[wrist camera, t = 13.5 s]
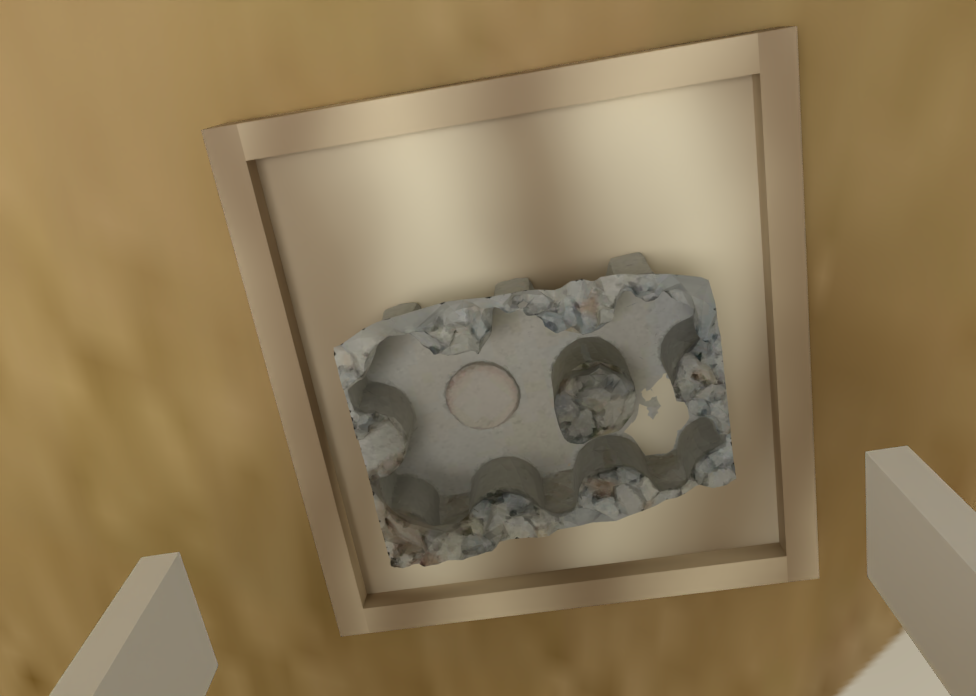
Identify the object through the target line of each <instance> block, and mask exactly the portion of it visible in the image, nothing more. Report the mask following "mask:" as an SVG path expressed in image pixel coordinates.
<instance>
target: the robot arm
mask: <svg viewBox="0 0 976 696" xmlns="http://www.w3.org/2000/svg"><path fill="white" fill-rule="evenodd" d="M865 468H866V534H867V577H868V578H869V580H870V581H871V582H872V584H873V585H874V587H875V588H876V589H877V591H878V592H879V594H880V595H881V597H882V598H883V599H884V601H885V602H886V604H887V605H888V607H889V608H890V609H891V611H892V612H893V614H894V615H895V617H896V618H897V619H898V621H899V622H900V624H901V625H902V627H903V628H904V629H905V631H906V632H907V634H908V635H909V637H910V638H911V639H912V641H913V642H914V644H915V645H916V647H917V648H918V649H919V650H920V652H921V653H922V655H923V657H924V658H925V659H926V661H927V662H928V664H929V665H930V666H931V668H932V669H933V671H934V672H935V674H936V675H937V677H938V678H939V679H940V681H941V682H942V684H943V685H944V686H945V688H946V689H947V691H948V692H949V693H950V695H951V696H976V512H975V511H974V510H973V509H972V508H971V507H970V506H969V505H968V504H967V503H966V502H965V501H964V500H963V499H962V498H961V497H960V496H959V495H957V494H956V493H955V492H954V491H953V490H952V489H951V488H950V487H949V486H948V485H947V484H946V483H945V482H944V481H943V480H942V479H941V478H940V477H939V476H938V475H937V474H936V473H935V472H934V471H933V470H932V469H931V468H930V467H929V466H928V465H927V464H926V463H925V462H924V461H923V460H922V459H921V458H920V457H919V456H918V455H917V454H916V453H915V452H913V451H912V450H911V449H910V448H909V447H908V446H901V447H894V448H887V449H880V450H873V451H866V452H865ZM217 667H218V663H217V660H216V657H215V654H214V651H213V648H212V645H211V643H210V640H209V637H208V634H207V631H206V628H205V625H204V622H203V619H202V616H201V613H200V611H199V608H198V605H197V602H196V599H195V596H194V593H193V590H192V587H191V584H190V582H189V579H188V576H187V573H186V570H185V567H184V564H183V561H182V558H181V555H180V552H175V553H168V554H161V555H154V556H147V557H141V558H140V560H139V561H138V563H137V564H136V566H135V567H134V569H133V570H132V572H131V573H130V575H129V576H128V578H127V579H126V581H125V582H124V584H123V585H122V587H121V588H120V590H119V591H118V593H117V594H116V596H115V597H114V599H113V600H112V602H111V603H110V605H109V606H108V608H107V609H106V611H105V612H104V614H103V615H102V617H101V618H100V620H99V621H98V623H97V624H96V626H95V627H94V629H93V630H92V632H91V633H90V635H89V636H88V638H87V639H86V641H85V642H84V644H83V645H82V647H81V648H80V650H79V651H78V653H77V654H76V656H75V657H74V659H73V660H72V662H71V663H70V665H69V666H68V668H67V669H66V671H65V672H64V674H63V675H62V677H61V678H60V680H59V681H58V683H57V684H56V686H55V687H54V689H53V690H52V692H51V693H50V695H49V696H205V695H206V693H207V691H208V688H209V686H210V684H211V681H212V679H213V677H214V674H215V672H216V670H217Z"/></svg>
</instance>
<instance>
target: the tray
mask: <svg viewBox="0 0 976 696" xmlns="http://www.w3.org/2000/svg"><path fill="white" fill-rule="evenodd" d="M201 132H202V135H203V139H204V143H205V146H206V150H207V153H208V157H209V161H210V164H211V168H212V172H213V175H214V179H215V182H216V186H217V190H218V193H219V197H220V201H221V204H222V208H223V211H224V215H225V219H226V222H227V226H228V230H229V233H230V237H231V240H232V244H233V248H234V251H235V255H236V259H237V262H238V266H239V269H240V273H241V277H242V280H243V284H244V288H245V291H246V295H247V298H248V302H249V306H250V309H251V313H252V317H253V320H254V324H255V327H256V331H257V335H258V338H259V342H260V346H261V349H262V353H263V356H264V360H265V364H266V367H267V371H268V375H269V378H270V382H271V385H272V389H273V393H274V396H275V400H276V404H277V407H278V411H279V414H280V418H281V422H282V425H283V429H284V433H285V436H286V440H287V443H288V447H289V451H290V454H291V458H292V462H293V465H294V469H295V472H296V476H297V480H298V483H299V487H300V491H301V494H302V498H303V501H304V505H305V509H306V512H307V516H308V520H309V523H310V527H311V530H312V534H313V538H314V541H315V545H316V549H317V552H318V556H319V560H320V563H321V567H322V570H323V574H324V578H325V581H326V585H327V589H328V592H329V596H330V599H331V603H332V607H333V610H334V614H335V618H336V621H337V625H338V628H339V632H340V636H341V637H342V636H350V635H358V634H366V633H375V632H383V631H391V630H399V629H407V628H416V627H424V626H432V625H440V624H448V623H457V622H465V621H473V620H481V619H490V618H498V617H506V616H514V615H522V614H531V613H539V612H547V611H555V610H563V609H572V608H580V607H588V606H596V605H604V604H613V603H621V602H629V601H637V600H646V599H654V598H662V597H670V596H678V595H687V594H695V593H703V592H711V591H719V590H728V589H736V588H744V587H752V586H760V585H769V584H777V583H785V582H793V581H801V580H810V579H818V578H819V558H818V533H817V508H816V483H815V458H814V433H813V408H812V384H811V359H810V334H809V309H808V284H807V259H806V234H805V210H804V185H803V160H802V135H801V110H800V85H799V60H798V35H797V26H787V27H775V28H769V29H763V30H758V31H752V32H746V33H741V34H735V35H729V36H723V37H718V38H712V39H706V40H700V41H695V42H689V43H683V44H678V45H672V46H666V47H660V48H655V49H649V50H643V51H638V52H632V53H626V54H620V55H615V56H609V57H603V58H598V59H592V60H586V61H580V62H575V63H569V64H563V65H558V66H552V67H546V68H540V69H535V70H529V71H523V72H518V73H512V74H506V75H500V76H495V77H489V78H483V79H478V80H472V81H466V82H460V83H455V84H449V85H443V86H438V87H432V88H426V89H420V90H415V91H409V92H403V93H397V94H392V95H386V96H380V97H375V98H369V99H363V100H357V101H352V102H346V103H340V104H335V105H329V106H323V107H317V108H312V109H306V110H300V111H295V112H289V113H283V114H277V115H272V116H266V117H260V118H255V119H249V120H243V121H237V122H232V123H226V124H220V125H217V126H214V127H210V128H207V129H203V130H201ZM636 252H640V253H642V254H643V256H644V257H645V259H646V261H647V263H648V265H649V267H650V268H651V270H652V271H653V272H654V273H655V274H675V275H685V276H696V277H702V278H704V279H707V280H709V283H710V286H711V290H712V293H713V297H714V300H715V304H716V311H717V320H718V327H719V331H720V335H721V346H722V355H723V364H724V374H725V382H726V391H727V401H728V411H729V420H730V428H731V441H732V450H733V460H734V465H735V473H736V479H735V480H733V481H731V482H730V483H729V484H727V485H724V486H721V487H716V488H710V487H706V486H703V485H697V486H695V487H694V488H692V489H691V490H689V491H688V492H687V493H685V494H683V495H681V496H679V497H677V498H672V499H667V500H665V501H663V502H661V503H659V504H658V505H656V506H654V507H651V508H649V509H646V510H644V511H641V512H638V513H635V514H632V515H630V516H627V517H625V518H622V519H620V520H617V521H608V522H592V523H588V524H585V525H581V526H576V527H570V528H565V529H559V530H557V531H555V532H554V533H552V534H551V535H549V536H545V537H539V538H531V537H529V538H519V539H509V540H505V541H501V542H499V544H498V545H497V547H496V548H495V549H494V550H493V551H490V552H485V553H482V554H480V555H477V556H473V557H469V558H466V559H464V560H448V561H444V562H442V563H440V564H437V565H430V566H426V567H423V566H422V565H420V564H413V565H411V566H408V567H405V568H399V567H392V566H391V565H390V561H391V560H390V558H389V556H388V552H387V548H386V544H385V540H384V536H383V533H382V530H381V526H380V523H379V519H378V516H377V512H376V508H375V503H374V497H373V492H372V488H371V485H370V481H369V477H368V473H367V469H366V466H365V462H364V459H363V456H362V452H361V448H360V444H359V440H357V438H356V434H355V431H354V427H353V423H352V419H351V415H350V411H349V407H348V403H347V400H346V396H345V393H344V389H343V388H342V385H341V381H340V377H339V373H338V369H337V365H336V361H335V357H334V347H336V346H339V345H341V344H342V343H344V342H345V341H347V340H348V339H350V338H351V337H352V336H354V335H355V334H357V333H358V332H360V331H361V330H362V329H364V328H366V327H368V326H370V325H372V324H374V323H376V322H379V321H382V319H383V313H384V311H385V310H386V309H389V308H392V307H394V306H397V305H399V304H404V303H412V302H414V303H417V304H419V305H420V306H421V309H423V308H426V307H429V306H433V305H436V304H439V303H443V302H448V301H455V300H463V299H474V298H484V297H491V296H494V292H495V285H497V284H498V283H500V282H502V281H508V280H512V279H515V278H529V280H530V281H531V283H532V285H533V287H534V289H535V290H556V289H559V288H561V287H563V286H564V285H566V284H567V283H569V282H571V281H575V280H579V279H584V280H588V281H595V280H597V279H598V278H600V277H604V276H606V273H607V268H608V264H609V261H610V259H611V258H615V257H619V256H622V255H627V254H631V253H636ZM666 375H667V373H664V374H663V375H662V378H661V379H659V380H658V381H657V382H656V383H655V385H654V386H653V387H652V388H651V389H652V390H651V389H650V390H648V391H647V390H646V388H645V389H643V391H642V392H641V393H642V397H643V398H644V399H645V401H649V400H651V398H652V397H656V396H657V400H658V402H659V404H660V405H661V406H660V408H659V409H658V410H657V411H658V413H657V414H656V415H655V417H654V419H652V418H651V417H650V416H648V413H649V411H648V410H647V407H646V406H644V405H641V404H639V408H638V414H637V417H636V419H635V421H634V422H633V423H631V424H630V425H629V427H628V428H627V429H626V430H625V431H624V432H625V433H627V434H628V435H630V436H632V437H633V439H634V440H635V441H636V443H637V444H638V446H639V447H640V449H641V450H642V452H643V453H644V454H645V455H646V456H647V455H654V454H666V453H668V452H670V451H671V450H672V449H673V447H674V445H675V441H676V437H677V431H678V430H681V429H682V428H683V426H684V425H685V424H686V423H687V421H688V420H689V413H688V408H687V406H686V404H685V403H684V402H679V401H676V398H675V394H674V390H673V386H672V384H671V381H670V379H668V378H666ZM653 392H654V393H653ZM570 464H571V463H569V464H568V466H570Z"/></svg>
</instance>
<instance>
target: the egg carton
mask: <svg viewBox="0 0 976 696" xmlns="http://www.w3.org/2000/svg"><path fill="white" fill-rule="evenodd" d="M334 357H335V361H336V365H337V369H338V373H339V377H340V381H341V385H342V388H343V389H344V393H345V396H346V400H347V403H348V407H349V411H350V415H351V419H352V423H353V427H354V431H355V434H356V438H357V440H359V444H360V448H361V452H362V456H363V459H364V462H365V466H366V469H367V473H368V477H369V481H370V485H371V488H372V492H373V497H374V503H375V508H376V512H377V516H378V519H379V523H380V526H381V530H382V533H383V536H384V540H385V544H386V548H387V552H388V556H389V558H390V560H391V561H390V565H391V566H392V567H399V568H405V567H408V566H411V565H413V564H420V565H422V566H423V567H426V566H430V565H437V564H440V563H442V562H444V561H448V560H464V559H466V558H469V557H473V556H477V555H480V554H482V553H485V552H490V551H493V550H494V549H495V548H496V547H497V545H498V544H499V542H501V541H505V540H509V539H519V538H529V537H531V538H539V537H545V536H549V535H551V534H552V533H554V532H555V531H557V530H559V529H565V528H570V527H576V526H581V525H585V524H588V523H592V522H608V521H617V520H620V519H622V518H625V517H627V516H630V515H632V514H635V513H638V512H641V511H644V510H646V509H649V508H651V507H654V506H656V505H658V504H659V503H661V502H663V501H665V500H667V499H672V498H677V497H679V496H681V495H683V494H685V493H687V492H688V491H689V490H691V489H692V488H694V487H695V486H697V485H703V486H706V487H710V488H716V487H721V486H724V485H727V484H729V483H730V482H731V481H733V480H735V479H736V473H735V465H734V460H733V450H732V441H731V428H730V420H729V411H728V401H727V391H726V382H725V374H724V364H723V355H722V346H721V335H720V331H719V327H718V320H717V311H716V304H715V300H714V297H713V293H712V290H711V286H710V283H709V280H707V279H704V278H702V277H696V276H685V275H675V274H655V273H654V272H653V271H652V270H651V268H650V267H649V265H648V263H647V261H646V259H645V257H644V256H643V254H642V253H640V252H636V253H631V254H627V255H622V256H619V257H615V258H611V259H610V261H609V264H608V268H607V273H606V276H604V277H600V278H598V279H597V280H595V281H588V280H584V279H579V280H575V281H571V282H569V283H567V284H566V285H564V286H563V287H561V288H559V289H556V290H535V289H534V287H533V285H532V283H531V281H530V280H529V278H515V279H512V280H508V281H502V282H500V283H498V284H497V285H495V292H494V296H491V297H484V298H474V299H463V300H455V301H448V302H443V303H439V304H436V305H433V306H429V307H426V308H423V309H421V306H420V305H419V304H417V303H414V302H412V303H404V304H399V305H397V306H394V307H392V308H389V309H386V310H385V311H384V313H383V319H382V321H379V322H376V323H374V324H372V325H370V326H368V327H366V328H364V329H362V330H361V331H360V332H358V333H357V334H355V335H354V336H352V337H351V338H350V339H348V340H347V341H345V342H344V343H342V344H341V345H339V346H336V347H334ZM664 373H667V375H666V378H668V379H670V381H671V384H672V386H673V390H674V394H675V398H676V401H679V402H684V403H685V404H686V406H687V408H688V413H689V420H688V421H687V423H686V424H685V425H684V426H683V428H682V429H681V430H678V431H677V437H676V441H675V445H674V447H673V449H672V450H671V451H670V452H668V453H666V454H654V455H647V456H646V455H645V454H644V453H643V452H642V450H641V449H640V447H639V446H638V444H637V443H636V441H635V440H634V439H633V437H632V436H630V435H628V434H627V433H625V432H624V431H625V430H626V429H627V428H628V427H629V425H630V424H631V423H633V422H634V421H635V419H636V417H637V414H638V408H639V404H641V405H644V406H646V407H647V410H648V411H649V413H648V416H650V417H651V418H652V419H654V417H655V415H656V414H657V413H658V411H657V410H658V409H659V408H660V406H661V405H660V404H659V402H658V400H657V396H656V397H652V398H651V400H649V401H645V399H644V398H643V397H642V393H641V392H642V391H643V389H645V388H646V390H647V391H648V390H650V389H651V388H652V387H653V386H654V385H655V383H656V382H657V381H658V380H659V379H661V378H662V375H663V374H664ZM651 390H652V389H651ZM653 393H654V392H653ZM569 463H571V464H570V466H568V464H569Z"/></svg>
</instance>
